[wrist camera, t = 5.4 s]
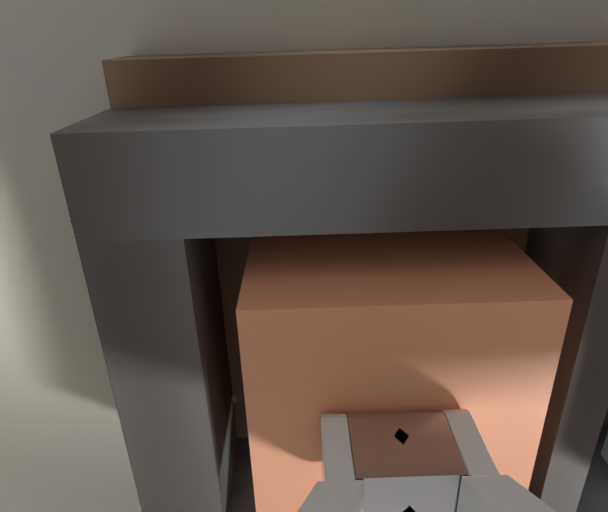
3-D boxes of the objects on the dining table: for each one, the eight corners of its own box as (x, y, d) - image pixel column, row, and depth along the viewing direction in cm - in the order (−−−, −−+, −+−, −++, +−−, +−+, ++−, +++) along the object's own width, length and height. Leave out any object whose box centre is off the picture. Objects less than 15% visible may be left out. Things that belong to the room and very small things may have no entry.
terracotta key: (498, 227, 12) (572, 299, 9) (470, 416, 14) (519, 526, 11) (251, 234, 12) (235, 310, 9) (266, 423, 14) (258, 535, 11)
